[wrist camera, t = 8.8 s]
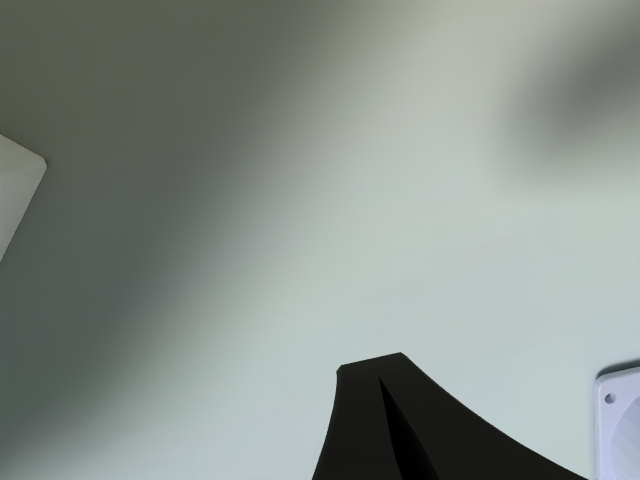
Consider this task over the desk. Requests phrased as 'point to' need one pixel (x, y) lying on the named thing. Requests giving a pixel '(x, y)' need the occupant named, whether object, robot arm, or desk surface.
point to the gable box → (16, 186)
